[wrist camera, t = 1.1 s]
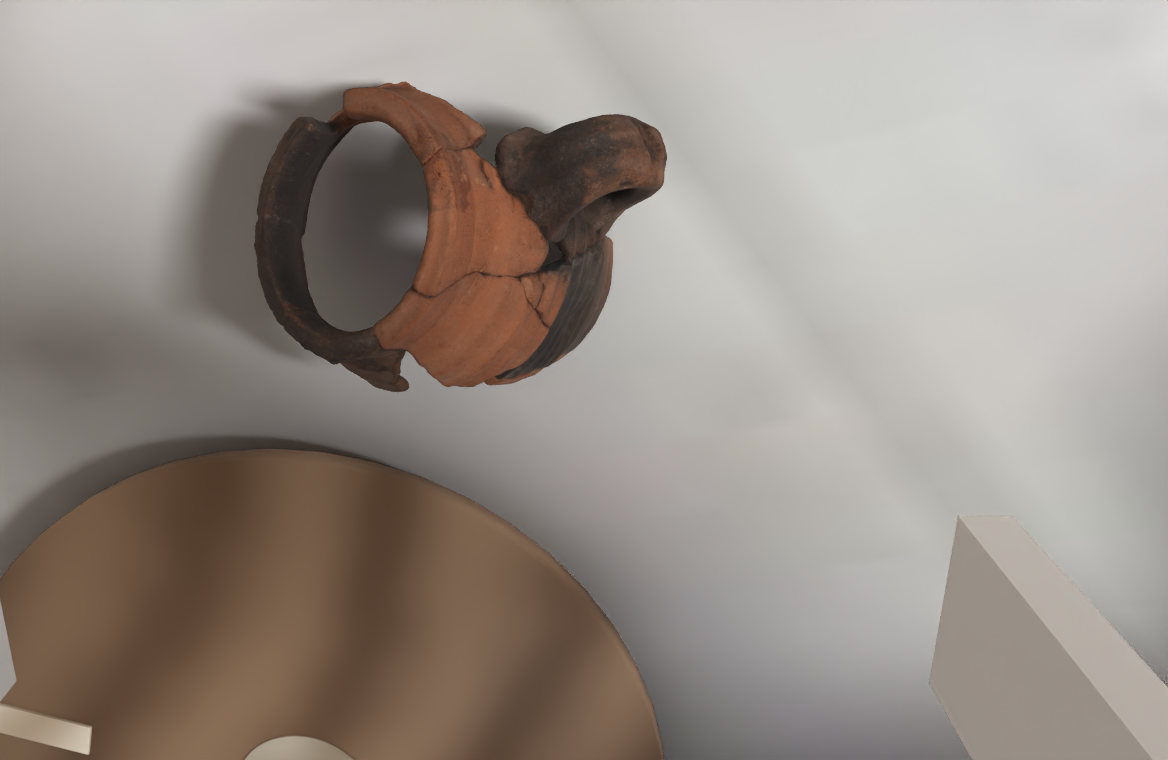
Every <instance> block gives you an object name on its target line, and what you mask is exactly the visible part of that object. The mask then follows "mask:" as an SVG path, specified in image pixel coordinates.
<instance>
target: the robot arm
mask: <svg viewBox="0 0 1168 760" xmlns="http://www.w3.org/2000/svg"><path fill="white" fill-rule="evenodd" d="M15 682H16V676H15V671H14V666H13V661H12V656H11V651H10V646H9V641H8V636H7V631H6V626H5V621H4V616H3V611H2V606H1V601H0V701H1V700H2V699H3V697H4V696H5V695H6V694H7V692H8V691H9V690H10V689H11V687H12V686H13V685H14V684H15ZM929 684H930V686H931V687H932V689H933V691H934V693H935V695H936V696H937V698H938V700H939V702H940V704H941V705H942V707H943V709H944V711H945V713H946V714H947V716H948V718H949V720H950V721H951V723H952V725H953V727H954V729H955V730H956V732H957V734H958V736H959V738H960V739H961V741H962V743H963V745H964V747H965V748H966V750H967V752H968V754H969V756H970V757H971V759H972V760H1168V687H1167V686H1166V685H1165V684H1164V683H1163V682H1162V681H1161V680H1160V678H1159V677H1158V676H1157V675H1156V674H1155V673H1154V672H1153V671H1152V670H1151V669H1150V667H1149V666H1148V665H1147V664H1146V663H1145V662H1144V661H1143V660H1142V659H1141V657H1140V656H1139V655H1138V654H1137V653H1136V652H1135V651H1134V650H1133V649H1132V648H1131V646H1130V645H1129V644H1128V643H1127V642H1126V641H1125V640H1124V639H1123V638H1122V636H1121V635H1120V634H1119V633H1118V632H1117V631H1116V630H1115V629H1114V628H1113V626H1112V625H1111V624H1110V623H1109V622H1108V621H1107V620H1106V619H1105V618H1104V617H1103V615H1102V614H1101V613H1100V612H1099V611H1098V610H1097V609H1096V608H1095V607H1094V605H1093V604H1092V603H1091V602H1090V601H1089V600H1088V599H1087V598H1086V597H1085V596H1084V594H1083V593H1082V592H1081V591H1080V590H1079V589H1078V588H1077V587H1076V586H1075V584H1074V583H1073V582H1072V581H1071V580H1070V579H1069V578H1068V577H1067V576H1066V575H1065V573H1064V572H1063V571H1062V570H1061V569H1060V568H1059V567H1058V566H1057V565H1056V563H1055V562H1054V561H1053V560H1052V559H1051V558H1050V557H1049V556H1048V555H1047V553H1046V552H1045V551H1044V550H1043V549H1042V548H1041V547H1040V546H1039V545H1038V544H1037V542H1036V541H1035V540H1034V539H1033V538H1032V537H1031V536H1030V535H1029V534H1028V532H1027V531H1026V530H1025V529H1024V528H1023V527H1022V526H1021V525H1020V524H1019V523H1018V521H1017V520H1016V519H1015V518H1014V517H1013V516H958V520H957V525H956V531H955V537H954V543H953V548H952V554H951V560H950V566H949V571H948V577H947V583H946V589H945V594H944V600H943V606H942V612H941V617H940V623H939V629H938V635H937V640H936V646H935V652H934V658H933V663H932V669H931V675H930V681H929Z"/></svg>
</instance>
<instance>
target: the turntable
mask: <svg viewBox="0 0 1168 760" xmlns="http://www.w3.org/2000/svg"><path fill="white" fill-rule="evenodd" d="M0 601H1V606H2V611H3V616H4V621H5V626H6V631H7V636H8V641H9V646H10V651H11V656H12V661H13V666H14V671H15V676H16V682H15V684H14V685H13V686H12V687H11V689H10V690H9V691H8V692H7V694H6V695H5V696H4V697H3V699H2V700H1V701H0V760H664V755H663V745H662V741H661V737H660V733H659V729H658V724H657V720H656V716H655V712H654V708H653V704H652V702H651V700H650V697H649V695H648V692H647V690H646V687H645V685H644V682H643V680H642V677H641V675H640V673H639V670H638V668H637V665H636V663H635V662H634V660H633V658H632V657H631V655H630V653H629V651H628V650H627V648H626V646H625V644H624V643H623V641H622V639H621V638H620V636H619V634H618V632H617V631H616V629H615V627H614V626H613V624H612V623H611V622H610V621H609V619H608V618H607V617H606V615H605V614H604V613H603V612H602V610H601V609H600V608H599V606H598V605H597V604H596V602H595V601H594V600H593V599H592V597H591V596H590V595H589V593H588V592H587V591H586V590H585V588H584V587H583V586H582V585H581V584H580V583H579V582H578V581H577V580H576V579H575V578H574V577H573V576H571V575H570V574H569V573H568V572H567V571H566V570H565V569H564V568H563V567H562V566H561V565H560V564H559V563H558V562H557V561H556V560H555V559H554V558H553V557H552V556H551V555H550V554H549V553H548V552H547V551H545V550H544V549H543V548H541V547H540V546H539V545H537V544H536V543H535V542H534V541H532V540H531V539H530V538H528V537H527V536H526V535H525V534H523V533H522V532H521V531H519V530H518V529H517V528H516V527H514V526H513V525H512V524H510V523H509V522H507V521H505V520H504V519H502V518H500V517H499V516H497V515H495V514H494V513H492V512H490V511H489V510H487V509H485V508H484V507H482V506H480V505H479V504H477V503H475V502H474V501H472V500H470V499H469V498H467V497H465V496H462V495H460V494H458V493H456V492H453V491H451V490H449V489H447V488H445V487H442V486H440V485H438V484H436V483H433V482H431V481H429V480H427V479H424V478H422V477H420V476H417V475H414V474H410V473H407V472H404V471H401V470H398V469H394V468H391V467H388V466H385V465H382V464H378V463H375V462H372V461H368V460H362V459H357V458H352V457H346V456H341V455H336V454H330V453H325V452H318V451H302V450H286V449H271V448H270V449H254V450H238V451H222V452H216V453H211V454H206V455H201V456H196V457H191V458H186V459H181V460H176V461H172V462H169V463H167V464H164V465H161V466H158V467H155V468H152V469H149V470H146V471H143V472H140V473H137V474H135V475H132V476H130V477H128V478H126V479H124V480H122V481H120V482H118V483H116V484H114V485H112V486H110V487H108V488H106V489H105V490H103V491H101V492H99V493H97V494H95V495H93V496H91V497H90V498H89V499H87V500H86V501H85V502H83V503H82V504H80V505H79V506H78V507H76V508H75V509H74V510H72V511H71V512H69V513H68V514H67V515H65V516H64V517H63V518H61V519H60V520H59V521H57V522H56V523H55V524H53V525H52V526H51V527H49V528H48V529H47V530H45V531H44V532H43V533H42V534H41V535H40V536H39V537H38V538H37V539H36V540H35V541H34V542H33V543H32V544H31V545H30V546H29V547H28V548H27V549H26V550H25V551H24V552H23V553H22V554H21V555H20V556H19V557H18V558H17V559H16V560H15V561H14V562H13V563H12V564H11V566H10V567H9V568H8V570H7V571H6V573H5V574H4V576H3V577H2V578H1V580H0Z"/></svg>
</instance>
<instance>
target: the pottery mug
mask: <svg viewBox="0 0 1168 760" xmlns="http://www.w3.org/2000/svg"><path fill="white" fill-rule="evenodd" d="M343 97H344V100H343V109H342V110H341V111H339V112H338V113H336V114H335V115H334V116H333V117H332V118H331V120H330V121H328V123H325V122H320V121H318V120H316V119H314V118H311V117H300V118H298V119H297V120H296V121H295V122H293V124H292V125H291V127H290V128H289V130H288V131H287V132H286V133H285V134H284V137H283V138H282V140H281V141H280V143H279V144H278V147H277V149H276V151H275V153H274V155H273V157H272V159H271V161H270V163H269V165H268V168H267V171H266V173H265V176H264V178H263V183H262V185H261V190H260V194H259V201H258V208H257V214H258V221H257V223H256V230H255V244H254V246H255V251H256V255H257V262H258V263H257V265H258V275H259V278H260V281H261V285H262V288H263V291H264V295H265V298H266V300H267V303H268V305H269V307H270V309H271V310H272V311H273V314H274V316H275V317H276V320H277V321H278V322H279V323H280V324H281V325H283V326H284V329H285V330H286V331H287V332H288V334H290V335H291V336H292V337H293V338H294V339H295V340H296V341H298V342H299V343H300V344H301V345H302V346H303V347H304V349H306V350H310V351H311V352H313V353H314V354H316V355H317V356H320V357H322V358H324V359H326V360H327V361H329V362H330V363H331V364H334V365H335V364H338V363H341V364H342V365H343V366H344V367H345V368H346V369H348V370H349V371H351V372H353V373H355V374H357V375H358V376H360V377H361V378H363V379H365V380H367V381H368V382H369V383H370V384H372V385H373V386H374V387H376V388H380V389H384V390H388V391H392V392H402V391H406V390H408V388H409V383H408V381H407V380H406V379H404V378H403V377H402V376H400V375H399V374H400V365H401V360H402V358H403V357H404V354H405V351H408V352H409V353H411V354H412V355H413V357H414V358H415V360H416V361H417V363H418V364H419V365H420V366H422V367H424V368H425V369H426V370H427V372H428V373H429V374H430V375H431V376H432V377H434V378H435V379H437V380H438V381H439V382H440V383H441V384H442V385H444V386H446V387H450V386H460V387H474V386H476V385H478V384H480V383H482V382H485V383H486V384H487V385H502V384H511V383H515V382H517V381H519V380H522V379H524V378H527V377H530V376H533V375H535V374H536V373H538V372H539V371H541V370H542V369H543V368H544V367H548V366H549V365H551V364H552V363H554V362H556V361H558V360H559V359H561V358H562V357H564V356H565V355H566V354H568V353H569V352H570V351H572V350H573V349H575V348H576V347H577V346H578V345H579V344H580V343H581V341H582V340H583V339H584V338H585V336H586V335H587V334H588V333H589V331H590V330H591V329H592V328H593V326H594V324H595V323H596V321H597V319H598V317H599V315H600V313H601V311H602V309H603V307H604V304H605V302H606V299H607V296H608V293H609V290H610V285H611V276H612V265H613V242H612V240H611V239H610V238H607V236H605V234H606V233H607V232H608V231H609V230H610V228H611V226H612V224H613V223H614V221H615V220H616V219H617V218H618V217H619V216H620V215H621V214H622V213H623V212H624V211H625V210H626V209H628V208H630V207H632V206H633V205H635V204H637V203H639V202H641V201H643V200H645V199H647V198H649V197H651V196H652V195H653V194H655V193H656V192H657V191H658V190H659V189H660V188H661V187H662V185H663V183H664V171H665V166H666V160H667V154H666V149H665V145H664V143H663V140H662V137H661V134H660V132H659V131H658V130H657V129H656V128H654V127H652V126H650V125H648V124H646V123H644V122H642V121H640V120H638V119H636V118H633V117H630V116H626V115H619V114H614V115H601V116H597V117H592V118H588V119H586V120H582V121H579V122H575V123H571V124H568V125H565V126H563V127H561V128H559V129H557V130H555V131H553V132H551V133H548V134H544V133H542V132H539V131H537V130H534V129H532V128H528V127H525V128H522V129H520V130H518V131H517V132H514V133H512V134H509V135H506V136H505V137H504V138H503V139H502V140H501V141H500V142H499V143H498V145H497V148H496V153H495V160H496V164H497V167H496V168H495V167H493V166H491V165H490V163H489V162H487V161H486V160H484V159H482V158H481V157H480V156H479V155H478V154H477V153H476V152H475V151H474V148H476V147H478V145H479V144H480V143H482V142H483V141H484V139H485V137H486V131H485V130H484V129H483V128H482V127H481V126H480V125H479V124H478V123H477V122H475V121H473V120H472V119H471V118H470V117H469V116H467V115H466V114H464V113H463V112H462V111H460V110H457V109H456V108H454V107H453V106H452V105H451V104H449V103H448V102H447V101H445V100H443V99H441V98H438V97H435V96H432V95H431V94H428V93H425V92H421V91H420V90H417V89H416V88H415V87H413V86H411V85H410V84H409V83H407V82H401V83H398V84H392V83H386V84H383V85H381V86H379V87H365V88H352V89H348V90H346V91H345V92H344V95H343ZM373 121H380V122H383V123H386V124H388V125H389V126H391V127H392V128H394V129H395V130H396V131H397V132H398V133H400V134H401V135H402V137H403V138H404V139H405V140H406V142H407V143H408V144H409V145H410V148H411V149H412V150H413V152H414V153H415V155H416V157H417V158H418V160H419V162H420V163H421V165H422V166H423V168H424V176H425V181H426V185H427V191H428V211H429V214H428V231H427V237H426V243H425V248H424V252H423V257H422V260H421V263H420V265H419V268H418V271H417V273H416V276H415V278H414V280H413V283H412V287H411V288H410V289H409V290H408V291H407V292H406V294H405V295H404V297H403V298H402V300H401V301H400V303H399V304H398V305H397V306H396V307H395V308H394V309H393V310H392V311H391V312H390V313H389V314H388V315H386V316H385V317H384V318H383V319H381V320H380V321H379V322H377V323H376V324H375V325H374V327H371V328H368V329H365V330H361V331H355V332H347V331H342V330H339V329H336V328H335V327H333V326H331V325H329V324H328V323H327V322H326V321H325V320H323V319H322V318H321V316H320V315H319V314H318V312H317V310H316V308H315V306H314V303H313V300H312V298H311V296H310V293H309V290H308V284H307V278H306V270H305V263H304V257H303V250H302V245H301V238H302V236H303V235H304V233H305V227H306V221H307V213H308V207H309V202H310V197H311V193H312V190H313V186H314V183H315V180H316V177H317V175H318V173H319V171H320V169H321V168H322V166H323V164H324V162H325V161H326V159H327V157H328V156H329V155H330V153H331V152H332V151H333V149H334V148H335V147H336V146H337V145H338V144H339V142H340V141H341V140H342V138H343V137H344V136H345V135H346V134H347V133H348V132H349V131H350V130H351V129H352V128H353V127H354V126H356V125H358V124H361V123H365V122H373ZM550 242H554V243H556V242H557V244H558V246H559V248H560V250H561V252H562V255H563V257H562V259H561V260H560V261H556V262H554V263H552V264H549V265H547V266H545V267H541V266H542V263H543V262H544V261H545V259H546V257H547V255H548V252H549V244H550Z"/></svg>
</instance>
